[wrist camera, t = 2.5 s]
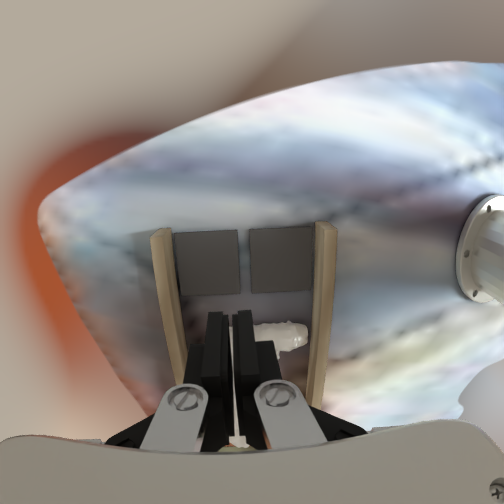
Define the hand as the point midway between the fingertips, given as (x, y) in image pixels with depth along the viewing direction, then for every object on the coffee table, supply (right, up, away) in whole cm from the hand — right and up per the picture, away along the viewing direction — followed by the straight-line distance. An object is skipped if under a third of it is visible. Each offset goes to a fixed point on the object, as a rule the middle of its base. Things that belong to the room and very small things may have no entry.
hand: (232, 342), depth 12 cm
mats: (0, +3, +14) cm, 14 cm away
